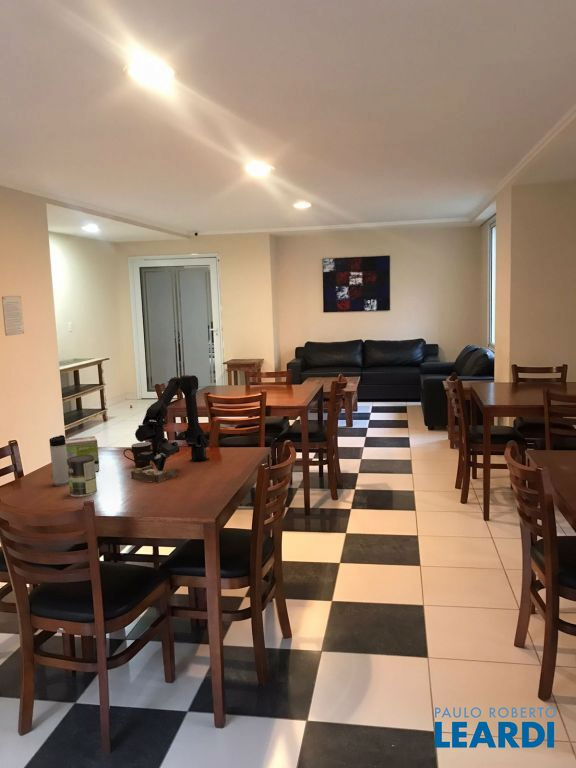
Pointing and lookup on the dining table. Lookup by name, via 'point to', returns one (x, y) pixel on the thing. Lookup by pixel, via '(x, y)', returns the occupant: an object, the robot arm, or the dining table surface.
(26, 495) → the dining table surface
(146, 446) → the coffee mug
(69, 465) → the coffee can
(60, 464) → the travel mug
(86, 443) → the tea box
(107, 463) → the dining table surface
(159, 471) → the door panel
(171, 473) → the cabinet frame
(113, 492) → the dining table surface
